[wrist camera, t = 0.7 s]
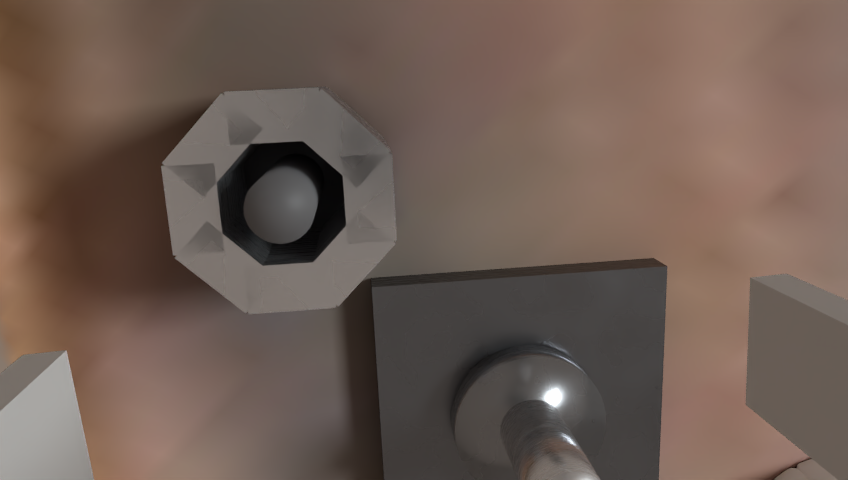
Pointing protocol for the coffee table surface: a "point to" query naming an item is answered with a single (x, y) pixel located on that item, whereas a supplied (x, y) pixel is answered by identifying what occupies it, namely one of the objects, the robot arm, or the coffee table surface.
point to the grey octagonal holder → (226, 190)
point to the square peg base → (522, 372)
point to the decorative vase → (806, 472)
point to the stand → (289, 191)
